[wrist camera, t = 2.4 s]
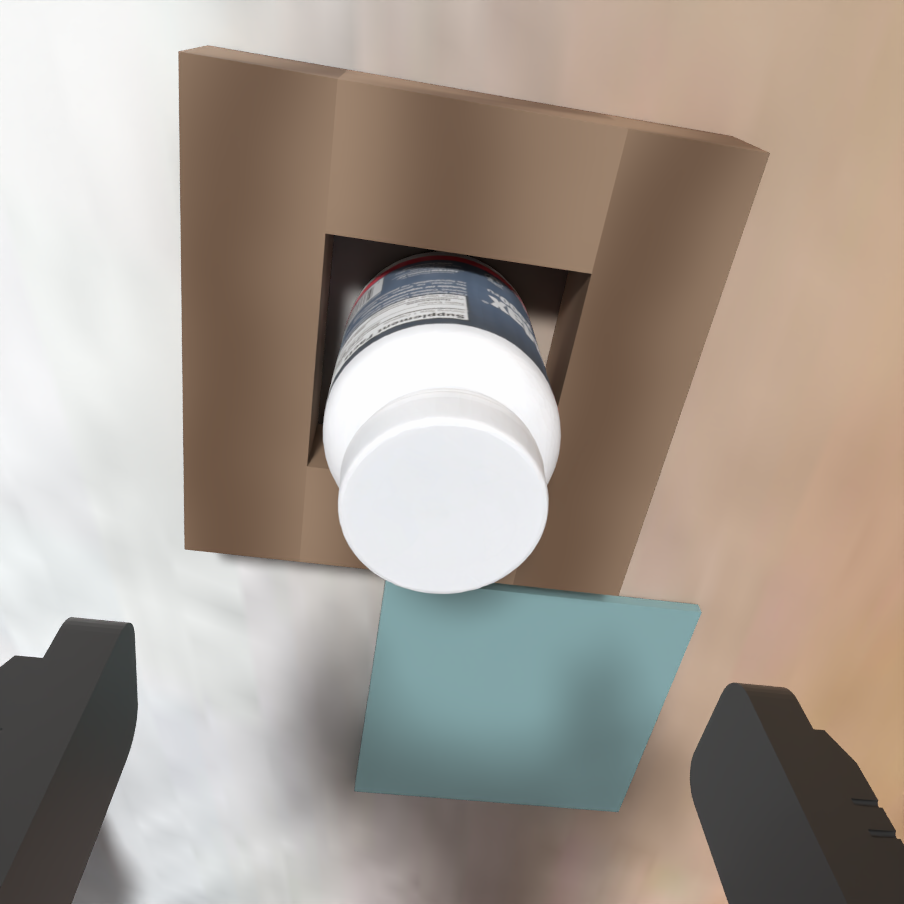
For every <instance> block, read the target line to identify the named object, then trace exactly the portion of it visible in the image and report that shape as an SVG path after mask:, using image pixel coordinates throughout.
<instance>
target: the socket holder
mask: <svg viewBox="0 0 904 904" xmlns="http://www.w3.org/2000/svg"><path fill="white" fill-rule="evenodd" d="M179 133H180V213H181V294H182V374H183V455H184V535H185V549H186V550H195V551H205V552H214V553H223V554H232V555H242V556H251V557H260V558H269V559H279V560H288V561H297V562H306V563H316V564H325V565H334V566H343V567H353V568H362V569H369V568H367V567H366V566H365V565H364V564H363V563H362V562H361V561H360V560H359V559H358V558H357V556H356V555H355V554H354V552H353V551H352V550H351V548H350V546H349V545H348V543H347V541H346V539H345V537H344V535H343V532H342V528H341V525H340V521H339V515H338V495H339V487H338V485H337V483H336V482H335V480H334V478H333V476H332V474H331V472H330V469H329V466H328V463H327V460H326V456H325V450H324V443H323V424H318V419H319V407H320V395H321V383H322V371H323V359H324V348H325V336H326V324H327V312H328V300H329V288H330V276H331V265H332V253H333V241H334V235H339V236H345V237H352V238H359V239H365V240H372V241H378V242H385V243H392V244H398V245H405V246H411V247H418V248H425V249H431V250H438V251H445V252H451V253H458V254H464V255H471V256H478V257H484V258H491V259H497V260H504V261H511V262H517V263H524V264H530V265H537V266H544V267H550V268H557V269H563V270H569V272H568V276H567V280H566V284H565V289H564V293H563V297H562V301H561V305H560V310H559V314H558V318H557V322H556V326H555V331H554V335H553V339H552V343H551V347H550V352H549V356H548V360H547V364H546V368H545V369H546V373H547V376H548V379H549V382H550V385H551V388H552V391H553V394H554V396H555V400H556V403H557V407H558V412H559V419H560V430H561V440H560V450H559V456H558V460H557V463H556V467H555V469H554V472H553V474H552V476H551V479H550V481H549V483H548V484H547V489H548V497H549V504H548V516H547V521H546V525H545V528H544V531H543V534H542V536H541V538H540V540H539V542H538V544H537V545H536V547H535V548H534V550H533V551H532V553H531V554H530V555H529V556H528V557H527V559H526V560H525V561H524V562H523V563H522V564H521V565H520V566H518V567H517V568H516V569H515V570H513V571H512V572H511V573H509V574H508V575H506V576H505V577H503V578H502V579H500V580H498V581H496V582H494V583H501V584H510V585H519V586H529V587H538V588H547V589H556V590H566V591H575V592H584V593H593V594H603V595H612V596H618V595H619V593H620V590H621V587H622V584H623V581H624V578H625V575H626V572H627V569H628V566H629V563H630V560H631V557H632V555H633V552H634V549H635V546H636V543H637V540H638V537H639V534H640V531H641V528H642V525H643V522H644V519H645V517H646V514H647V511H648V508H649V505H650V502H651V499H652V496H653V493H654V490H655V487H656V484H657V481H658V479H659V476H660V473H661V470H662V467H663V464H664V461H665V458H666V455H667V452H668V449H669V446H670V443H671V441H672V438H673V435H674V432H675V429H676V426H677V423H678V420H679V417H680V414H681V411H682V408H683V406H684V403H685V400H686V397H687V394H688V391H689V388H690V385H691V382H692V379H693V376H694V373H695V370H696V368H697V365H698V362H699V359H700V356H701V353H702V350H703V347H704V344H705V341H706V338H707V335H708V332H709V330H710V327H711V324H712V321H713V318H714V315H715V312H716V309H717V306H718V303H719V300H720V297H721V294H722V292H723V289H724V286H725V283H726V280H727V277H728V274H729V271H730V268H731V265H732V262H733V259H734V256H735V254H736V251H737V248H738V245H739V242H740V239H741V236H742V233H743V230H744V227H745V224H746V221H747V218H748V216H749V213H750V210H751V207H752V204H753V201H754V198H755V195H756V192H757V189H758V186H759V183H760V180H761V178H762V175H763V172H764V169H765V166H766V163H767V160H768V157H769V154H770V153H769V152H766V151H764V150H762V149H760V148H757V147H755V146H753V145H751V144H748V143H746V142H744V141H742V140H739V139H737V138H735V137H733V136H728V135H722V134H716V133H710V132H705V131H699V130H693V129H687V128H681V127H676V126H670V125H664V124H658V123H653V122H647V121H641V120H635V119H629V118H624V117H618V116H612V115H606V114H601V113H595V112H589V111H583V110H578V109H572V108H566V107H560V106H554V105H549V104H543V103H537V102H531V101H526V100H520V99H514V98H508V97H502V96H497V95H491V94H485V93H479V92H474V91H468V90H462V89H456V88H451V87H445V86H439V85H433V84H427V83H422V82H416V81H410V80H404V79H399V78H393V77H387V76H381V75H375V74H370V73H364V72H358V71H352V70H347V69H341V68H335V67H329V66H324V65H318V64H312V63H306V62H300V61H295V60H289V59H283V58H277V57H272V56H266V55H260V54H254V53H248V52H243V51H237V50H231V49H225V48H220V47H214V46H208V45H207V46H203V47H198V48H193V49H188V50H183V51H179Z"/></svg>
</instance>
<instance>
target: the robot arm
mask: <svg viewBox="0 0 904 904" xmlns="http://www.w3.org/2000/svg"><path fill="white" fill-rule="evenodd" d="M137 710H138V699H137V676H136V653H135V633H134V627H133V625H132V624H131V623H126V622H116V621H105V620H95V619H85V618H74V617H70V618H68V619H67V620H66V621H65V622H64V623H63V624H62V626H61V628H60V629H59V631H58V633H57V634H56V636H55V638H54V640H53V641H52V643H51V645H50V647H49V648H48V650H47V652H46V654H45V655H44V657H43V658H36V657H25V656H14V657H12V658H11V659H10V660H9V661H7V662H6V663H5V664H4V665H2V666H1V667H0V904H71V903H72V901H73V898H74V895H75V893H76V890H77V888H78V885H79V882H80V880H81V877H82V875H83V872H84V869H85V867H86V864H87V861H88V859H89V856H90V854H91V851H92V848H93V846H94V843H95V841H96V838H97V835H98V833H99V830H100V828H101V825H102V822H103V820H104V817H105V815H106V812H107V809H108V807H109V804H110V802H111V799H112V796H113V794H114V791H115V789H116V786H117V783H118V781H119V778H120V776H121V773H122V770H123V768H124V765H125V763H126V760H127V757H128V754H129V751H130V748H131V745H132V741H133V737H134V732H135V727H136V721H137ZM690 786H691V793H692V798H693V801H694V805H695V808H696V811H697V813H698V816H699V819H700V822H701V825H702V828H703V831H704V834H705V837H706V840H707V842H708V845H709V848H710V851H711V854H712V857H713V860H714V863H715V866H716V868H717V871H718V874H719V877H720V880H721V883H722V886H723V889H724V892H725V895H726V897H727V900H728V903H729V904H904V844H903V843H902V841H901V839H897V838H896V836H895V832H896V830H895V829H894V827H893V825H892V824H891V822H890V820H889V818H888V817H887V815H886V813H885V811H884V810H883V808H879V807H878V799H877V798H876V796H875V794H874V792H873V791H872V789H871V787H870V785H869V784H868V782H867V780H866V779H865V777H864V775H863V773H862V772H861V770H860V768H859V766H858V765H857V763H856V762H855V761H854V760H853V759H852V758H851V757H850V756H849V755H848V754H847V753H846V752H845V751H844V750H843V749H842V748H841V747H840V746H839V745H838V744H837V743H836V742H835V741H834V740H833V739H832V738H831V737H830V736H829V735H828V734H827V733H826V732H825V730H815V729H813V728H812V726H811V724H810V722H809V720H808V719H807V717H806V715H805V713H804V711H803V709H802V708H801V706H800V704H799V702H798V700H797V699H796V697H795V695H794V694H793V693H792V692H791V691H790V690H788V689H786V688H784V687H773V686H763V685H752V684H742V683H731V684H729V685H728V686H726V688H725V689H724V691H723V692H722V694H721V696H720V699H719V701H718V703H717V705H716V707H715V709H714V711H713V713H712V716H711V718H710V720H709V722H708V724H707V726H706V728H705V730H704V733H703V735H702V737H701V739H700V741H699V743H698V745H697V748H696V750H695V752H694V754H693V757H692V761H691V768H690Z"/></svg>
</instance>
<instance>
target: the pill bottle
mask: <svg viewBox="0 0 904 904" xmlns="http://www.w3.org/2000/svg"><path fill="white" fill-rule="evenodd" d="M560 440H561V430H560V419H559V412H558V407H557V403H556V400H555V396H554V394H553V391H552V388H551V385H550V382H549V379H548V376H547V373H546V369H545V366H544V363H543V360H542V357H541V355H540V351H539V348H538V345H537V342H536V339H535V335H534V332H533V328H532V325H531V322H530V319H529V316H528V313H527V310H526V308H525V306H524V304H523V302H522V300H521V298H520V296H519V295H518V293H517V292H516V290H515V289H514V288H513V286H512V285H511V284H510V283H509V282H508V281H507V280H506V279H505V278H504V277H503V276H502V275H501V274H500V273H498V272H497V271H496V270H494V269H493V268H491V267H490V266H488V265H487V264H485V263H483V262H481V261H479V260H477V259H474V258H471V257H468V256H465V255H461V254H456V253H448V252H430V253H423V254H417V255H413V256H410V257H407V258H404V259H401V260H399V261H397V262H395V263H393V264H391V265H390V266H388V267H386V268H385V269H383V270H382V271H381V272H379V273H378V274H377V275H376V276H375V277H374V278H373V279H372V280H370V282H369V283H368V284H367V285H366V286H365V287H364V289H363V290H362V291H361V293H360V294H359V296H358V297H357V299H356V301H355V303H354V305H353V307H352V310H351V312H350V315H349V318H348V321H347V324H346V328H345V332H344V335H343V339H342V343H341V347H340V351H339V354H338V358H337V362H336V366H335V370H334V374H333V378H332V382H331V385H330V389H329V393H328V397H327V401H326V407H325V413H324V422H323V443H324V450H325V456H326V460H327V463H328V466H329V469H330V472H331V474H332V476H333V478H334V480H335V482H336V483H337V485H338V487H339V495H338V515H339V521H340V525H341V528H342V532H343V535H344V537H345V539H346V541H347V543H348V545H349V546H350V548H351V550H352V551H353V552H354V554H355V555H356V556H357V558H358V559H359V560H360V561H361V562H362V563H363V564H364V565H365V566H366V567H367V568H369V569H370V570H371V571H372V572H373V573H375V574H376V575H378V576H379V577H381V578H383V579H385V580H387V581H388V582H391V583H393V584H394V585H397V586H400V587H403V588H406V589H410V590H413V591H418V592H424V593H434V594H452V593H460V592H465V591H470V590H475V589H478V588H481V587H483V586H486V585H489V584H491V583H494V582H496V581H498V580H500V579H502V578H503V577H505V576H506V575H508V574H509V573H511V572H512V571H513V570H515V569H516V568H517V567H518V566H520V565H521V564H522V563H523V562H524V561H525V560H526V559H527V557H528V556H529V555H530V554H531V553H532V551H533V550H534V548H535V547H536V545H537V544H538V542H539V540H540V538H541V536H542V534H543V531H544V528H545V525H546V521H547V516H548V504H549V497H548V489H547V484H548V483H549V481H550V479H551V476H552V474H553V472H554V469H555V467H556V463H557V460H558V456H559V450H560Z"/></svg>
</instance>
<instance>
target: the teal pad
mask: <svg viewBox="0 0 904 904" xmlns="http://www.w3.org/2000/svg"><path fill="white" fill-rule="evenodd" d="M700 615H701V610H700V608H699V606H698V605H696V604H687V603H678V602H669V601H659V600H650V599H641V598H631V597H622V596H612V595H603V594H593V593H584V592H575V591H566V590H556V589H547V588H538V587H529V586H519V585H510V584H501V583H491V584H489V585H486V586H483V587H481V588H478V589H475V590H470V591H465V592H460V593H452V594H434V593H424V592H418V591H413V590H410V589H406V588H403V587H400V586H397V585H394V584H393V583H391V582H388V581H387V580H385V587H384V593H383V600H382V607H381V614H380V620H379V627H378V634H377V640H376V647H375V654H374V660H373V667H372V674H371V680H370V687H369V694H368V700H367V707H366V714H365V720H364V727H363V734H362V741H361V747H360V754H359V761H358V767H357V774H356V781H355V790H354V791H357V792H369V793H382V794H395V795H407V796H420V797H433V798H446V799H458V800H471V801H484V802H497V803H509V804H522V805H535V806H547V807H560V808H573V809H586V810H598V811H611V812H619V809H620V807H621V805H622V802H623V800H624V797H625V795H626V793H627V790H628V788H629V785H630V783H631V781H632V778H633V776H634V773H635V771H636V769H637V766H638V764H639V761H640V759H641V757H642V754H643V752H644V749H645V747H646V745H647V742H648V740H649V737H650V735H651V733H652V730H653V728H654V725H655V723H656V721H657V718H658V716H659V713H660V711H661V709H662V706H663V704H664V701H665V699H666V696H667V694H668V692H669V689H670V687H671V684H672V682H673V680H674V677H675V675H676V672H677V670H678V668H679V665H680V663H681V660H682V658H683V656H684V653H685V651H686V648H687V646H688V644H689V641H690V639H691V636H692V634H693V632H694V629H695V627H696V624H697V622H698V620H699V617H700Z"/></svg>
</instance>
